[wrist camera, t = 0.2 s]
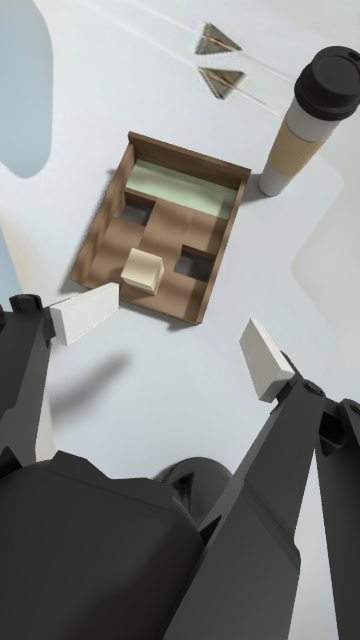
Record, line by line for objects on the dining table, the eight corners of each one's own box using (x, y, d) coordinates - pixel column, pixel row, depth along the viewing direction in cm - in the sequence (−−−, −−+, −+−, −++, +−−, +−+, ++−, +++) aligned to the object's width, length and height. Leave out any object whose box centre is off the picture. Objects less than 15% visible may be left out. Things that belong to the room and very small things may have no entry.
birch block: (155, 295, 28) (151, 286, 23) (130, 287, 28) (120, 276, 23) (164, 271, 29) (161, 257, 24) (139, 263, 29) (132, 247, 24)
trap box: (197, 325, 30) (202, 322, 24) (86, 287, 31) (64, 275, 25) (238, 199, 34) (251, 169, 28) (137, 167, 34) (129, 131, 28)
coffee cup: (293, 172, 35) (380, 50, 20) (287, 208, 34) (374, 106, 19) (254, 162, 35) (311, 33, 20) (246, 198, 34) (301, 88, 19)
